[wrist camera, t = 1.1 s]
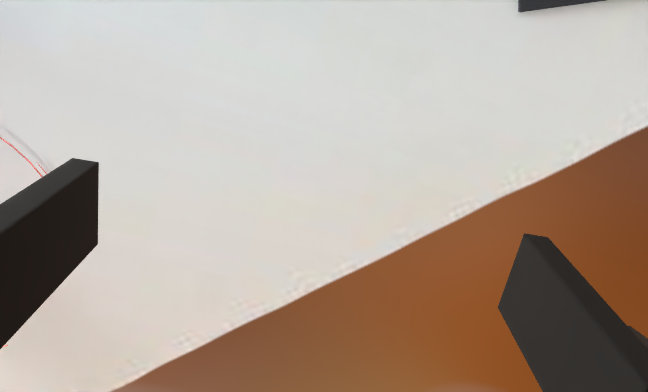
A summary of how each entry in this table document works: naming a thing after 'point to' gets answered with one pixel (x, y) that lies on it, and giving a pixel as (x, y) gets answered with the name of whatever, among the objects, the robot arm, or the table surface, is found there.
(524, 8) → the mat
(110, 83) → the table surface
